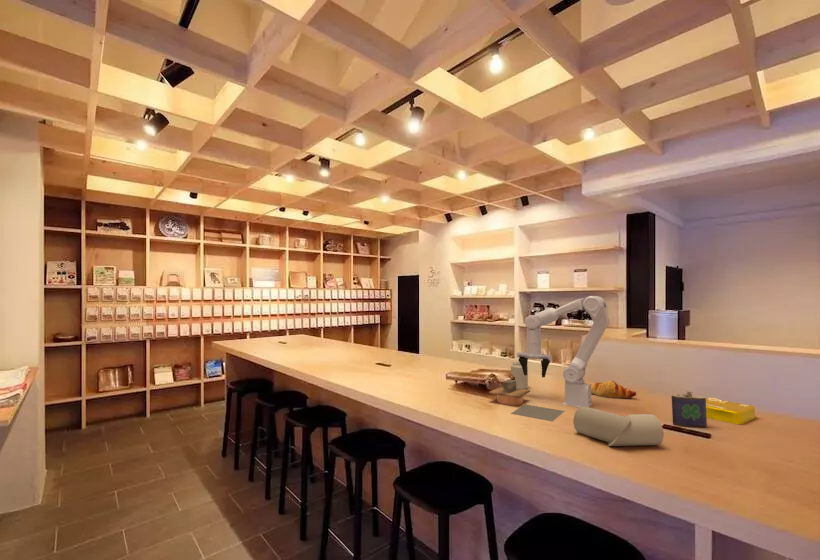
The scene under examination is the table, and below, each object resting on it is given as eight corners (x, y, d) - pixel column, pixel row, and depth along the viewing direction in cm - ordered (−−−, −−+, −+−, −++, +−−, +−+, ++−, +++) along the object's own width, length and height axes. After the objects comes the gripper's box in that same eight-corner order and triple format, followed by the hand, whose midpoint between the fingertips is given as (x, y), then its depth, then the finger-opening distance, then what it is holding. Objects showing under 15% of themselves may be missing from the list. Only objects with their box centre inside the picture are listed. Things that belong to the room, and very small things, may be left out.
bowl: (526, 401, 158) (526, 391, 158) (517, 407, 150) (517, 396, 150) (503, 398, 164) (503, 388, 164) (493, 403, 156) (493, 393, 156)
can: (530, 390, 178) (529, 363, 178) (513, 390, 178) (513, 363, 178) (525, 386, 185) (525, 361, 186) (509, 386, 185) (509, 361, 186)
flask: (704, 425, 129) (703, 390, 129) (709, 428, 126) (708, 392, 126) (671, 423, 131) (669, 388, 131) (675, 426, 128) (674, 391, 128)
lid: (530, 391, 158) (530, 380, 159) (518, 398, 149) (518, 385, 149) (501, 387, 166) (501, 376, 166) (489, 393, 156) (488, 381, 156)
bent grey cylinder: (599, 449, 106) (669, 447, 107) (593, 408, 108) (662, 407, 109) (569, 440, 123) (630, 439, 124) (565, 405, 125) (625, 404, 127)
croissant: (581, 401, 172) (578, 386, 170) (586, 386, 180) (583, 372, 177) (636, 408, 159) (633, 392, 157) (638, 392, 167) (636, 377, 164)
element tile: (688, 414, 141) (688, 401, 142) (707, 408, 149) (706, 395, 149) (740, 426, 129) (739, 411, 129) (757, 418, 137) (756, 404, 137)
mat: (564, 412, 144) (564, 410, 144) (552, 422, 132) (552, 421, 132) (525, 405, 153) (525, 404, 153) (510, 414, 141) (510, 413, 141)
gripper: (513, 343, 165) (514, 375, 165) (548, 345, 157) (549, 379, 156) (520, 341, 171) (520, 372, 170) (553, 344, 162) (554, 376, 162)
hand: (534, 376), depth 164 cm, fingers open, 7 cm apart
